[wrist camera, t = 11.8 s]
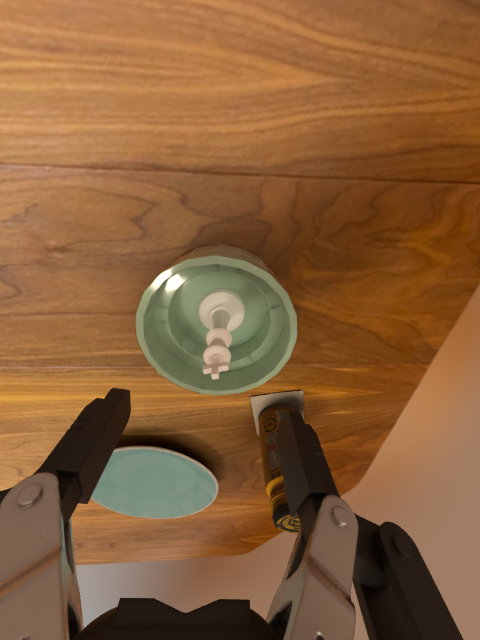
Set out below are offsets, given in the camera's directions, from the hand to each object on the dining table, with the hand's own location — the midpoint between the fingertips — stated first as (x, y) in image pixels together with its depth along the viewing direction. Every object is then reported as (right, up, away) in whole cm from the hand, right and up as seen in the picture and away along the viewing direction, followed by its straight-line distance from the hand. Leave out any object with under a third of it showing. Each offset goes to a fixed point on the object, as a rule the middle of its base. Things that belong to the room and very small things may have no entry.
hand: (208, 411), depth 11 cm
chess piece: (0, +6, +12) cm, 13 cm away
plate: (-13, -22, +26) cm, 36 cm away
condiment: (+7, -9, +20) cm, 23 cm away
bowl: (0, +6, +12) cm, 13 cm away
